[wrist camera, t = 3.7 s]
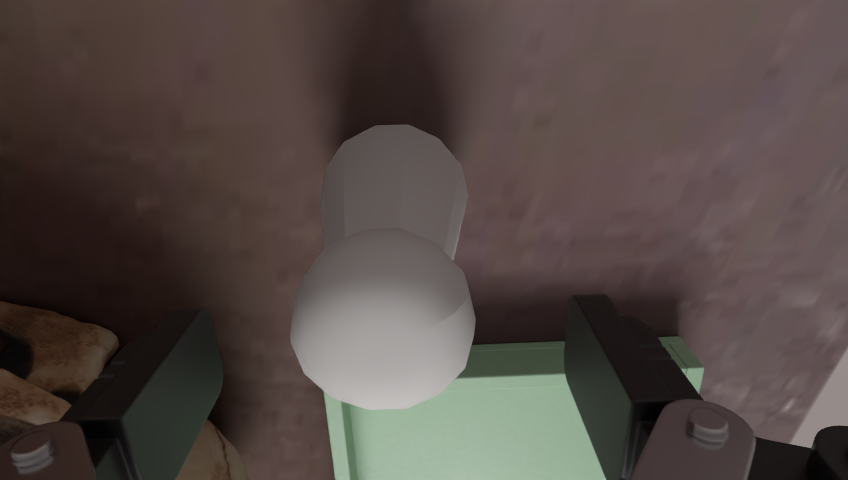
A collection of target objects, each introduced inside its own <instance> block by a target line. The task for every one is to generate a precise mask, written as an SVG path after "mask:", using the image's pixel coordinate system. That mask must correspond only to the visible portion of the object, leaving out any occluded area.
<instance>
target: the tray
mask: <svg viewBox="0 0 848 480" xmlns="http://www.w3.org/2000/svg"><path fill="white" fill-rule="evenodd" d="M658 339H659V340H660V341H661V343H662V347H665V348H666V350H667V351H668V352H669V354H670V355H671V359H674V360H675V362H676V363H677V365H678V366H679V367H680V369H681V370H682V371H683V373H684V374H685V375H686V377H687V378H688V380H689V381H690V382H691V384H692V385H693V386H694V388H695V389H696V391H697V392H698V393H699V391H700V386H701V382H702V377H703V372H704V366H703V365H702V364H701V363H700V361H699V360H698V359H697V358H696V357H695V355H694V354H693V353H692V352H691V350H690V349H689V348H688V347H687V346H686V344H684V342H683V341H682V339H681V338H680V337H678V336H676V337H658ZM564 346H565V341H554V342H530V343H506V344H481V345H471V348H470V352H469V356H468V360H467V363H466V367H465V369H464V370H463V371H462V372H461V373H460V374H459V375H458V376H457V377H456V378H455V379H454V380H453V381H452V382H451V384H450V385H449V386H448V387H447V388H446V389H445V390H444V391H443V392H442V393H441V394H439V395H437V396H435V397H432V398H430V399H428V400H426V401H423V402H421V403H419V404H416V405H414V406H412V407H410V408H407V409H382V410H367V409H364V408H361V407H358V406H355V405H352V404H349V403H345V402H342V401H339V400H336V399H333V398H331V397H330V396H329V395H328V394H327V393H325V392H324V391H323V393H324V400H325V408H326V415H327V423H328V431H329V438H330V446H331V453H332V461H333V468H334V476H335V480H606V478H605V476H604V473H603V471H602V468H601V466H600V463H599V461H598V458H597V456H596V453H595V451H594V448H593V446H592V443H591V441H590V438H589V436H588V433H587V431H586V428H585V426H584V423H583V421H582V418H581V416H580V413H579V411H578V408H577V406H576V403H575V401H574V398H573V396H572V393H571V391H570V388H569V386H568V383H567V380H566V376H565V369H564Z"/></svg>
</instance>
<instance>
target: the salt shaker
mask: <svg viewBox="0 0 848 480" xmlns="http://www.w3.org/2000/svg"><path fill="white" fill-rule="evenodd" d="M467 199H468V192H467V188H466V183H465V179H464V174H463V170H462V165H461V164H460V163H459V162H458V160H457V159H456V158H455V157H454V156H453V154H452V153H451V152H450V151H449V150H448V149H447V147H446V146H445V145H444V144H443V143H442V141H441V140H440V139H439V138H437V137H435V136H433V135H431V134H428V133H426V132H424V131H422V130H420V129H417V128H415V127H413V126H411V125H408V124H407V125H375V126H373V127H371V128H369V129H368V130H366V131H364V132H362V133H360V134H358V135H356V136H354V137H352V138H350V139H348V140H346V141H345V142H343V144H342V145H341V146H340V148H339V149H338V151H337V152H336V154H335V155H334V157H333V158H332V159H331V161H330V162H329V164H328V165H327V167H326V168H325V172H324V178H323V185H322V192H321V198H320V206H321V222H322V239H323V250H322V252H321V253H320V255H319V256H318V257H317V259H316V260H315V261H314V263H313V264H312V266H311V267H310V268H309V270H308V271H307V272H306V274H305V275H304V277H303V278H302V280H301V282H300V284H299V285H298V287H297V289H296V294H295V301H294V308H293V316H292V323H291V336H290V342H291V344H292V346H293V349H294V351H295V353H296V356H297V358H298V360H299V363H300V365H301V367H302V369H303V372H304V374H305V375H306V376H308V377H309V378H310V379H311V380H312V381H313V382H314V383H315V384H317V385H318V386H319V387H320V388H321V389H322V390H323V391H324V392H325V393H327V394H328V395H329V396H330V397H331V398H333V399H336V400H339V401H342V402H345V403H349V404H352V405H355V406H358V407H361V408H364V409H367V410H382V409H407V408H410V407H412V406H414V405H416V404H419V403H421V402H423V401H426V400H428V399H430V398H432V397H435V396H437V395H439V394H441V393H442V392H443V391H444V390H445V389H446V388H447V387H448V386H449V385H450V384H451V382H452V381H453V380H454V379H455V378H456V377H457V376H458V375H459V374H460V373H461V372H462V371H463V370H464V369H465V367H466V363H467V360H468V356H469V352H470V348H471V345H472V341H473V337H474V331H475V322H476V318H475V314H474V310H473V306H472V301H471V297H470V293H469V289H468V284H467V281H466V278H465V275H464V272H463V271H462V270H461V269H460V268H459V267H458V266H457V265H456V263H455V262H454V261H453V260H454V256H455V252H456V247H457V243H458V238H459V234H460V230H461V225H462V221H463V217H464V212H465V208H466V204H467Z"/></svg>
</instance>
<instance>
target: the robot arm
mask: <svg viewBox="0 0 848 480" xmlns="http://www.w3.org/2000/svg"><path fill="white" fill-rule="evenodd" d="M564 369H565V376H566V380H567V383H568V386H569V388H570V391H571V393H572V396H573V398H574V401H575V403H576V406H577V408H578V411H579V413H580V416H581V418H582V421H583V423H584V426H585V428H586V431H587V433H588V436H589V438H590V441H591V443H592V446H593V448H594V451H595V453H596V456H597V458H598V461H599V463H600V466H601V468H602V471H603V473H604V476H605V478H606V480H848V426H831V427H827V428H824V429H822V430H820V431H819V432H818V433H817V435H816V437H815V439H814V442H813V445H812V448H807V447H802V446H797V445H791V444H786V443H781V442H776V441H770V440H766V439H762V438H758V437H755V434H754V432H753V430H752V429H751V428H750V426H749V425H748V424H747V423H746V422H745V421H744V420H743V419H742V418H741V417H739V416H738V415H737V414H735V413H734V412H732V411H730V410H728V409H726V408H724V407H722V406H720V405H717V404H714V403H711V402H708V401H704V400H703V399H702V397H701V396H700V395H699V393H698V392H697V391H696V389H695V388H694V386H693V385H692V384H691V382H690V381H689V380H688V378H687V377H686V375H685V374H684V373H683V371H682V370H681V369H680V367H679V366H678V365H677V363H676V362H675V360H674V359H671V355H670V354H669V352H668V351H667V350H666V348H665V347H662V343H661V341H660V340H659V339H658V337H657V336H656V335H655V333H654V332H653V330H652V329H651V328H650V327H648V326H647V325H645V324H644V323H642V322H641V321H639V320H638V319H636V318H635V317H633V316H620V314H619V313H618V311H617V310H616V308H615V307H614V305H613V304H612V302H611V301H610V299H609V298H608V297H607V295H605V294H599V295H572V296H570V298H569V301H568V308H567V321H566V333H565V346H564ZM98 376H99V377H98V379H95V380H94V381H93V382H92V383H91V384H90V385H89V387H88V388H87V389H86V390H85V391H84V392H83V393H82V394H81V396H80V397H79V398H78V399H77V400H76V401H75V402H74V404H73V405H72V406H71V407H70V408H69V409H68V410H67V412H66V413H65V414H64V415H63V416H62V417H61V418H60V420H59V421H56V422H50V423H45V424H41V425H38V426H35V427H32V428H29V429H27V430H25V431H23V432H21V433H19V434H17V435H15V436H13V437H12V438H10V439H8V440H7V441H5V442H4V443H3V444H1V445H0V480H176V478H177V476H178V474H179V472H180V470H181V468H182V466H183V464H184V462H185V460H186V458H187V456H188V454H189V453H190V451H191V449H192V447H193V445H194V443H195V441H196V439H197V437H198V435H199V433H200V431H201V429H202V427H203V425H204V424H205V422H206V420H207V418H208V416H209V414H210V412H211V410H212V408H213V406H214V404H215V402H216V400H217V398H218V397H219V394H220V392H221V388H222V383H223V366H222V361H221V357H220V352H219V348H218V343H217V339H216V334H215V330H214V325H213V321H212V317H211V314H210V312H209V311H208V309H206V308H190V309H171V310H169V311H168V312H167V313H166V314H165V315H164V316H163V318H162V319H161V320H160V321H159V322H158V324H157V325H156V326H155V327H154V328H153V330H152V331H151V332H145V333H143V334H142V335H140V336H139V337H137V338H136V339H134V340H133V341H131V342H130V343H128V344H127V345H125V346H124V347H123V348H122V349H121V350H120V351H119V352H118V353H117V355H116V356H115V357H114V358H113V359H112V360H111V361H110V365H107V366H106V367H105V368H104V369H103V371H102V372H101V373H100V374H99V375H98Z"/></svg>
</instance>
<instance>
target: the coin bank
mask: <svg viewBox="0 0 848 480" xmlns="http://www.w3.org/2000/svg"><path fill="white" fill-rule="evenodd" d="M118 347H119V342H118V338H117V337H116V336H115V334H114V333H113V332H112V331H109V330H107V329H105V328H103V327H100V326H98V325H96V324H90V323H83V322H79V321H77V320H75V319H73V318H71V317H68V316H62V315H60V314H58V313H57V312H55V311H49V310H44V309H38V308H33V307H27V306H21V305H16V304H12V303H7V302H3V301H0V445H1V444H3V443H4V442H5V441H7V440H8V439H10V438H12V437H13V436H15V435H17V434H19V433H21V432H23V431H25V430H27V429H29V428H32V427H35V426H38V425H41V424H45V423H50V422H56V421H59V420H60V418H61V417H62V416H63V415H64V414H65V413H66V412H67V410H68V409H69V408H70V407H71V406H72V405H73V404H74V402H75V401H76V400H77V399H78V398H79V397H80V396H81V394H82V393H83V392H84V391H85V390H86V389H87V388H88V387H89V385H90V384H91V383H92V382H93V381H94V380H95V379H98V377H99V376H98V375H99V374H100V373H101V372H102V371H103V369H104V368H105V366H106V364H107V363H108V362H109V360H110V359H111V357H112V356H113V354H114V353H115V352H116V350H117V349H118ZM176 480H248V476H247V472H246V468H245V464H244V462H243V460H242V458H241V456H240V454H239V453H238V451H237V450H236V448H235V447H234V445H232V444H231V443H230V442H229V441H228V440H227V439H226V438H225V437H224V436H223V435H222V434H221V432H220V431H219V429H218V428H217V427H215V426H214V425H213V424H212V423H211V422H210V421H209V420H206V422H205V424H204V425H203V427H202V429H201V431H200V433H199V435H198V437H197V439H196V441H195V443H194V445H193V447H192V449H191V451H190V453H189V454H188V456H187V458H186V460H185V462H184V464H183V466H182V468H181V470H180V472H179V474H178V476H177V478H176Z"/></svg>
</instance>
